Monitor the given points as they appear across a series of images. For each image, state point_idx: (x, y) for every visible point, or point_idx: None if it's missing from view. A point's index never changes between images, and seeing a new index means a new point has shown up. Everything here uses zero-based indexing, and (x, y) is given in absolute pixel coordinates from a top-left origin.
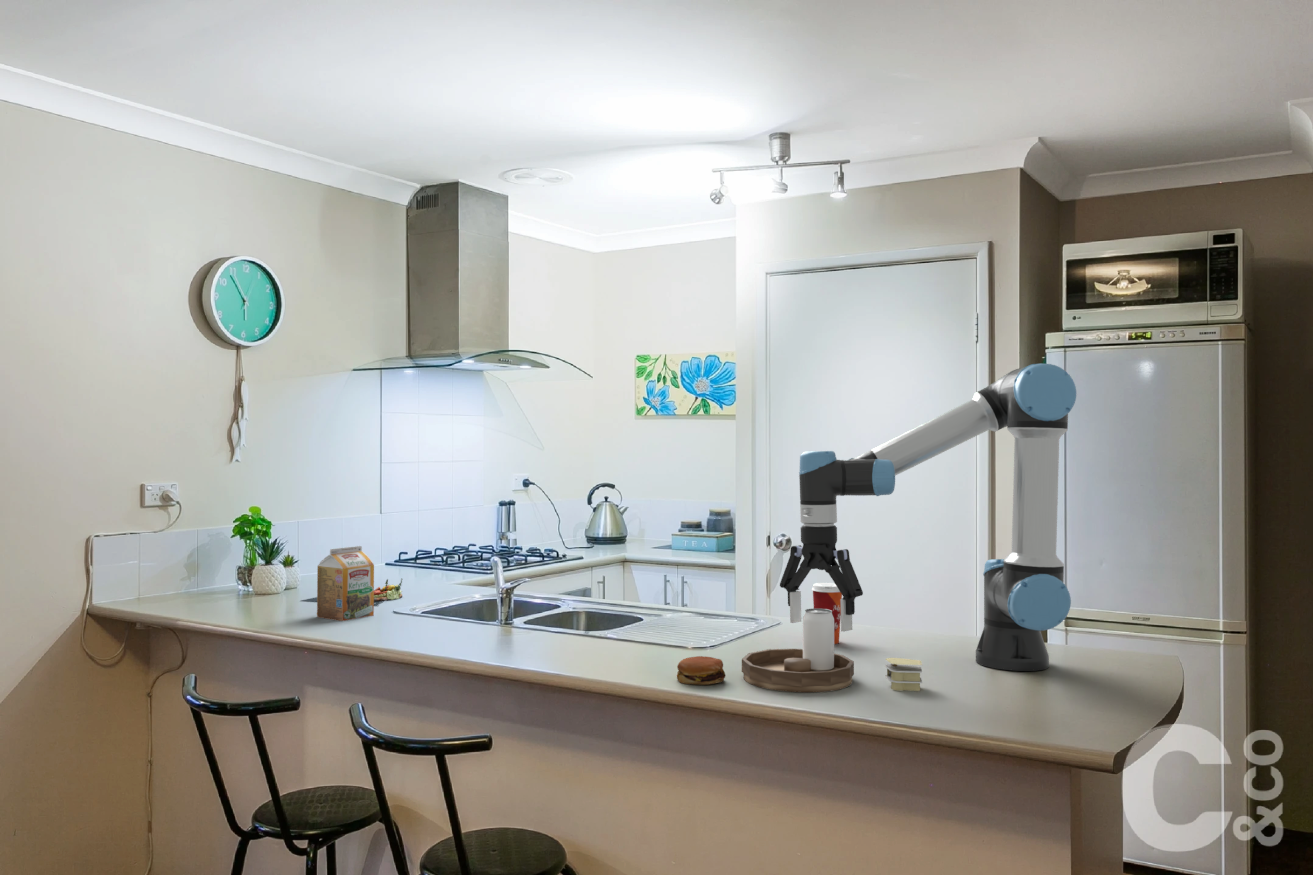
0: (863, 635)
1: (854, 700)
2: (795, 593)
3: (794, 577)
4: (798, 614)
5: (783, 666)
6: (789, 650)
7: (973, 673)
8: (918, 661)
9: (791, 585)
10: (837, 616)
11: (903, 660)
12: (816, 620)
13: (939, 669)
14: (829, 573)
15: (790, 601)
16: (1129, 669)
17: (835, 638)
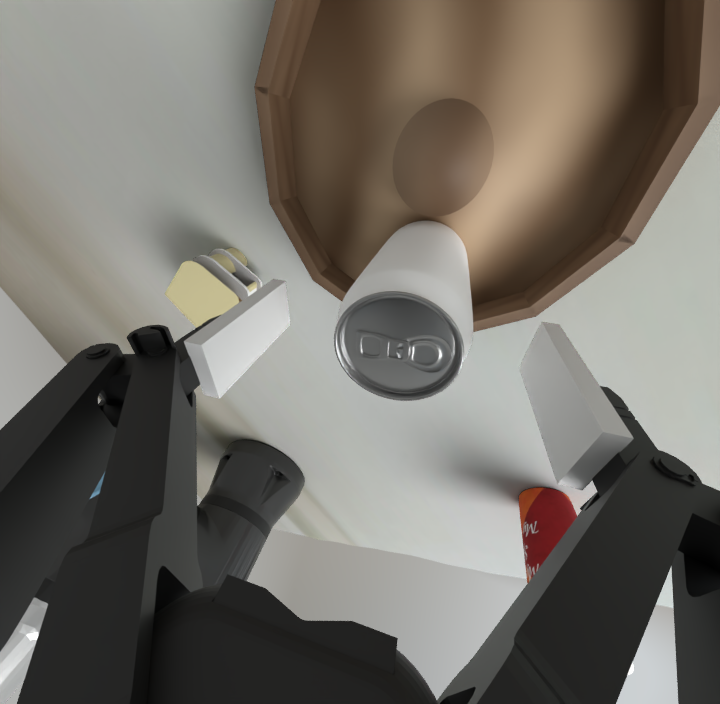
0: (501, 541)
1: (192, 63)
2: (580, 444)
3: (641, 562)
4: (533, 372)
5: (525, 208)
6: (543, 294)
7: (255, 413)
8: (191, 317)
9: (643, 488)
10: (527, 550)
11: (209, 306)
12: (370, 275)
13: (294, 413)
14: (155, 507)
15: (597, 389)
16: (201, 479)
17: (522, 502)
